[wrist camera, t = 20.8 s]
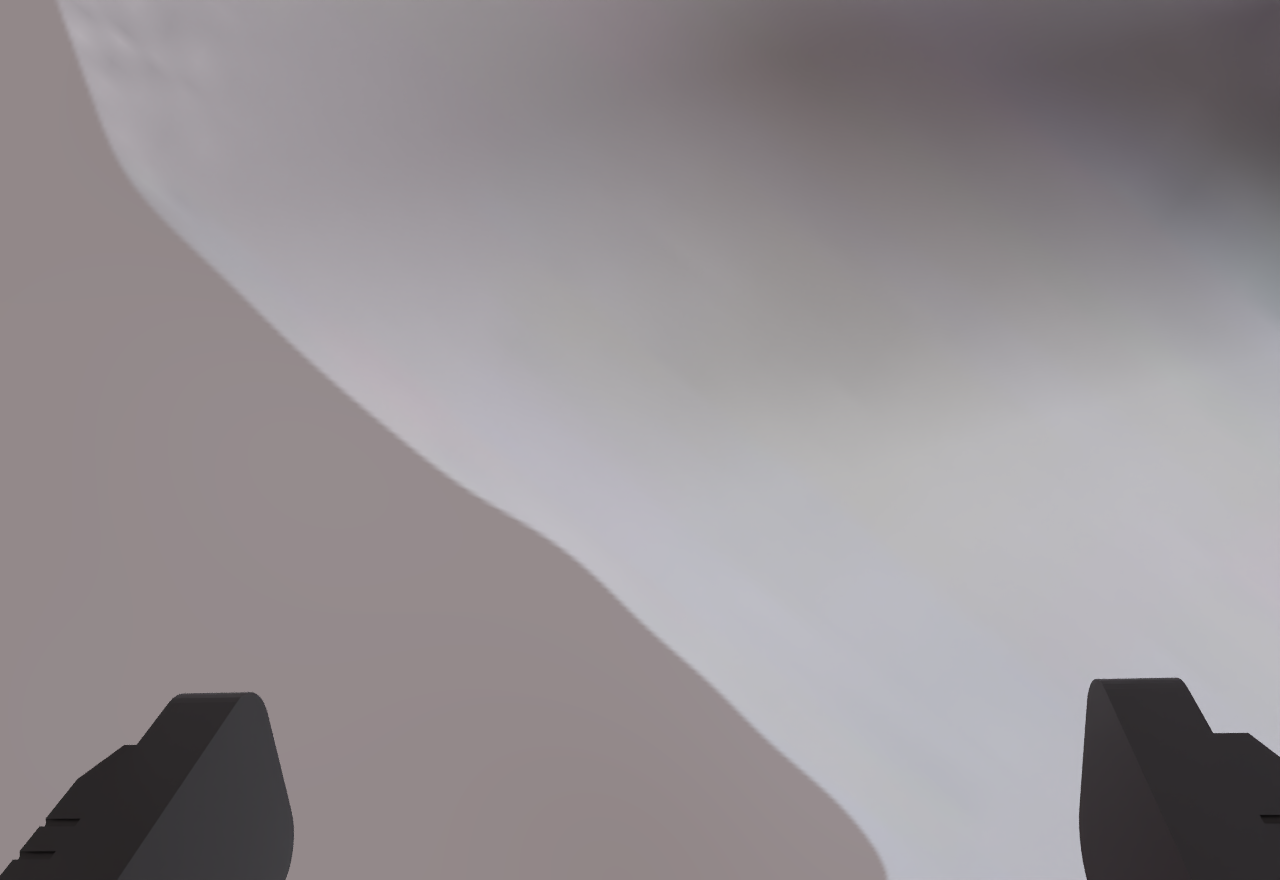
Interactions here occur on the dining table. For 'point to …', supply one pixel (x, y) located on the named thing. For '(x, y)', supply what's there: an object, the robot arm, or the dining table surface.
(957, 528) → the dining table surface
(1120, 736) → the robot arm
